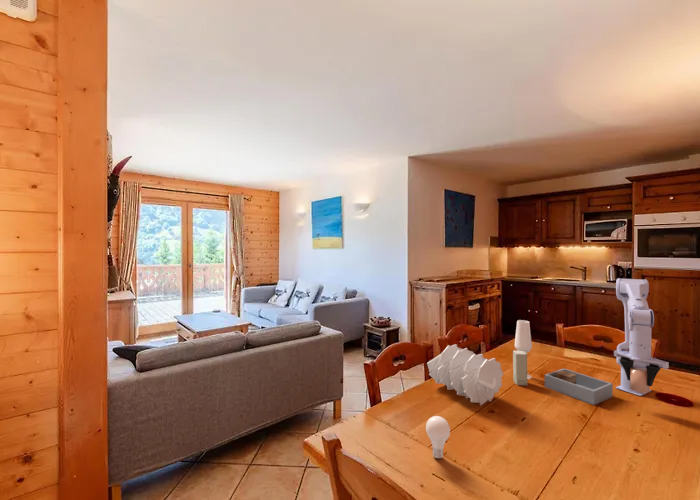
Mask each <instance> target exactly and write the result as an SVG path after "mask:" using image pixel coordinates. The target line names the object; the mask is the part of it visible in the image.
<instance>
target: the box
mask: <svg viewBox="0 0 700 500" xmlns="http://www.w3.org/2000/svg"><path fill="white" fill-rule="evenodd" d="M512 366H513V367H512V374H513V375H512V378H513V379H512V380H513V382H514V384H516V385H517V386H528V379H527V374H528V353H525V352H524V351H518V350H512Z"/></svg>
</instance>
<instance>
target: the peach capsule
mask: <svg viewBox="0 0 700 500" xmlns="http://www.w3.org/2000/svg"><path fill="white" fill-rule="evenodd" d="M630 388H631V389H632V390H634V391H637V392H642V393H646V394H648V393H650V392H649V389H650V386H647V369H644V368H639V367H631V368H630Z"/></svg>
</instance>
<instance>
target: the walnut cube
mask: <svg viewBox="0 0 700 500" xmlns="http://www.w3.org/2000/svg"><path fill="white" fill-rule="evenodd" d="M556 378H558V379H561V380H564V381H567V382H570V383H573V384H576V374H573V373H569V372H566V371H560V372H557V373H556Z"/></svg>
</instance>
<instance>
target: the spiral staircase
mask: <svg viewBox="0 0 700 500" xmlns="http://www.w3.org/2000/svg"><path fill="white" fill-rule="evenodd" d="M426 365H427V368H428V372H429V373H428V375H429V376H430V377H431V378H432V379H433V380H434V381H435V382H434V383H435V384H441V385H442V384H443V386H444V385H446V386H445V387H447V388H446V389H447V390H449V391H450V390H454V391H456V395H458V396H464V397H465V399H466V400H467V399H468V398H469V399H470V403H479V405H480V406H483V405H484V404H485V403H486V402H488V401H489V402H492V400H493V398H494V396H495V394H496V393H499V390H500V388H502V386H503V381H502V377H503V376H504V371H503V370H502V368H501V366H502V363H500V361H497V360H496V358H495V357H493V358H489V359H487V358H485V357H484V355H483V353H479V354H476V353H474V351H472V350H468V348H467V347H465V348H461V347H458V344H456V343H455V344H452V345H449V344H447V346H446V348H445V349H444V350H443V351H442V352H440V354H439V355H437V356H435V357H434V358H432V359H430V360H429V361H428V362H426Z"/></svg>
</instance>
